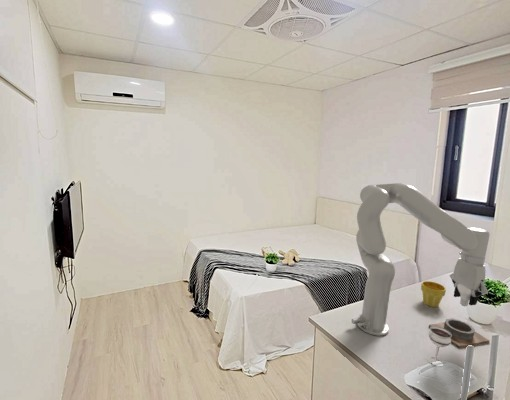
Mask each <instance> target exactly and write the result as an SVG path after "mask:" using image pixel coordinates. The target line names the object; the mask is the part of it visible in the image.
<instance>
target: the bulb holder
mask: <svg viewBox="0 0 510 400" xmlns="http://www.w3.org/2000/svg"><path fill="white" fill-rule="evenodd" d="M432 326H438V327H442V328H444V329H446V330H448V331H449V332H450V333H451V334H452V337H451V343H450V344H452V345H454V346H455V347H457V348H458V349H461V348H467V347H466V346H468V345H473V346H472V347H474V346H480V345H485V344H488V343H490V342H491V341H490V340H489V339H488V338H486V337H485V336H483V335H482V334H480V333H478V332H477V331H475V330H476V329H475V328H474V326H472V325H470V324H469V323H468V322H465V321H462V320H460V319H455V318H447V319H445V321H444V322H438V323H431V324H429V325H428V328H430V327H432ZM468 347H469V346H468Z"/></svg>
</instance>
